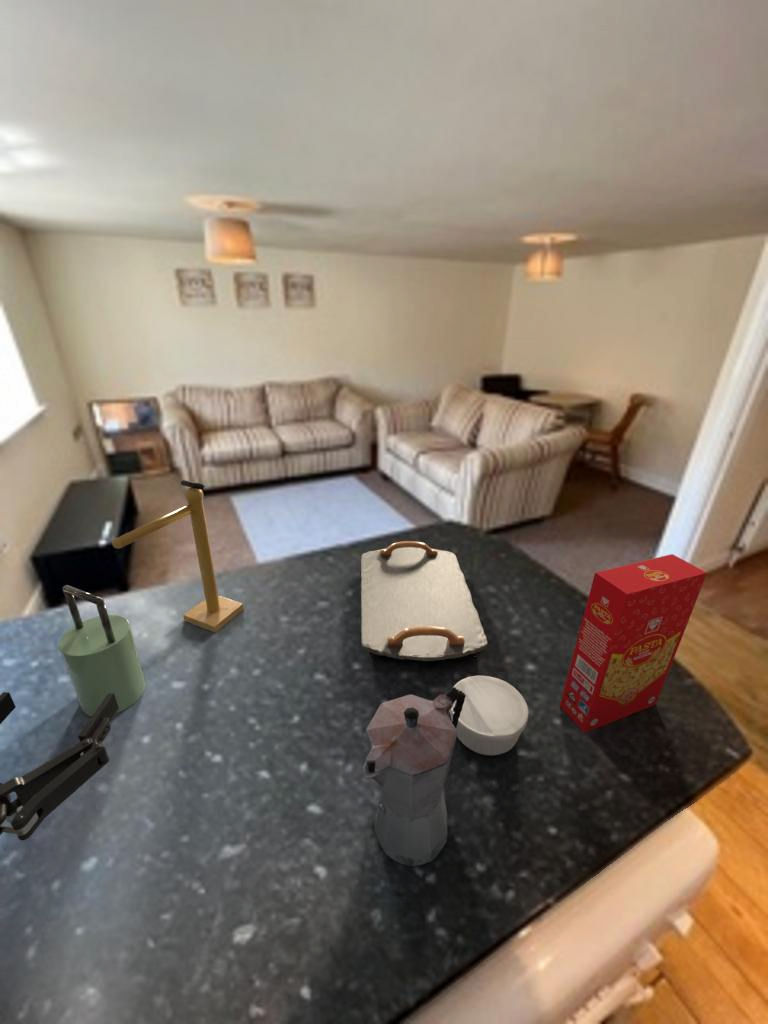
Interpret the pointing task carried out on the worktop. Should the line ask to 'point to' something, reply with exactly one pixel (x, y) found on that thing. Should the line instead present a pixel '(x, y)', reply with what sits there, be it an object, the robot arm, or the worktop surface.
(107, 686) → the green hanging weight
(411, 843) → the moka pot
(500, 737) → the ramekin
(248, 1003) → the worktop surface
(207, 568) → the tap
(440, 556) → the serving tray
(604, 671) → the food packaging
